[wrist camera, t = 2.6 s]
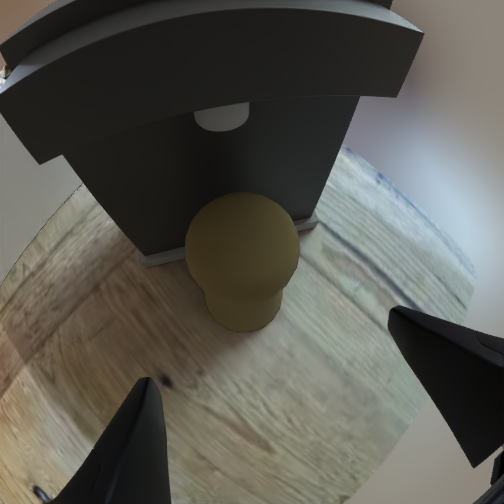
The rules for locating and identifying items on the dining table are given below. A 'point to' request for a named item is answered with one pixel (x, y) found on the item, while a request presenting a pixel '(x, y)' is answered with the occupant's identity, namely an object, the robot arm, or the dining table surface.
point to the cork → (242, 258)
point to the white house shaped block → (27, 194)
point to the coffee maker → (198, 100)
